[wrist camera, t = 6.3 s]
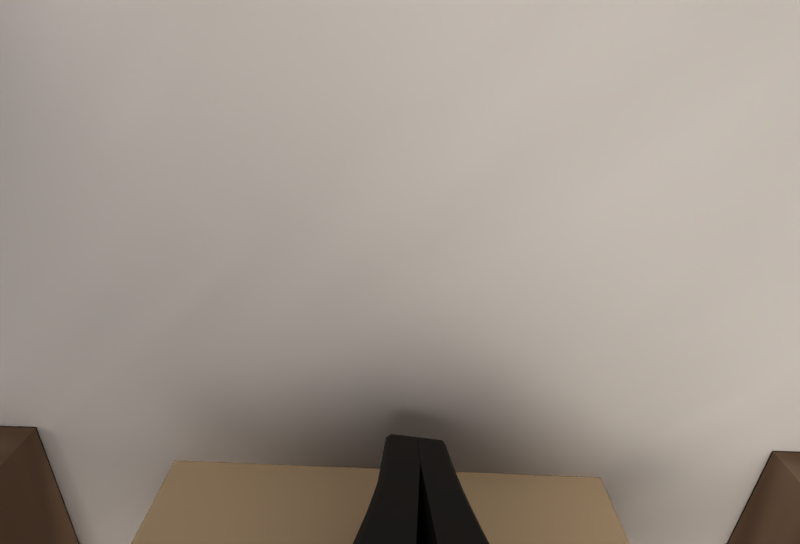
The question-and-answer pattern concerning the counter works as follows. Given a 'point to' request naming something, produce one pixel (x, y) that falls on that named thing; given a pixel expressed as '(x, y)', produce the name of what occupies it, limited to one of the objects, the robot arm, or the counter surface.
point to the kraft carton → (361, 506)
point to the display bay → (55, 540)
